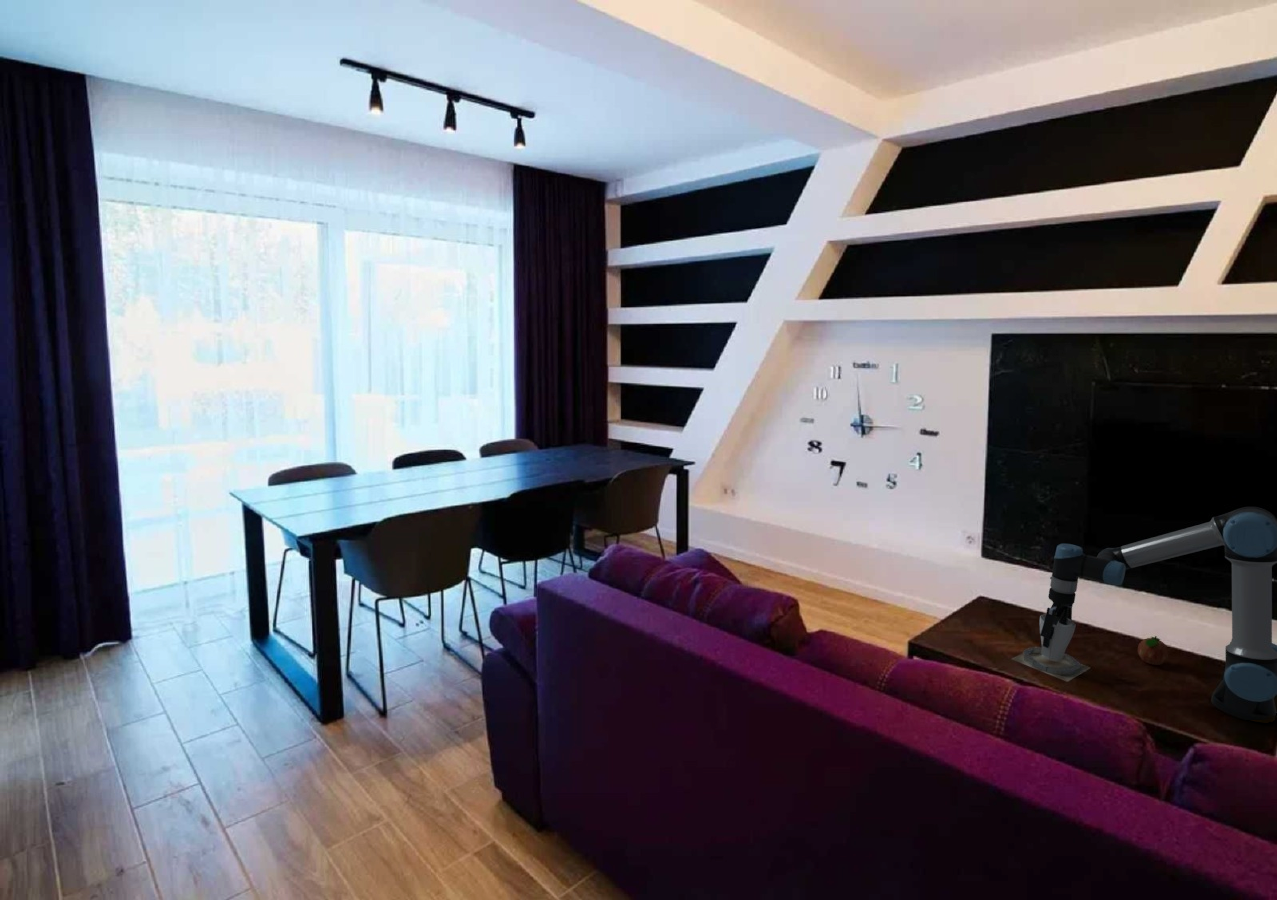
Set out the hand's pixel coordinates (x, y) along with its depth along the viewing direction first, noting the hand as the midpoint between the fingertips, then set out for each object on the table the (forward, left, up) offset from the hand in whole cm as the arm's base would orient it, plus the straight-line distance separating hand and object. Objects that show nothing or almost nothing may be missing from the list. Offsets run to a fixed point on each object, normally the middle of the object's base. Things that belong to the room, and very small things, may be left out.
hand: (1052, 651), depth 235 cm
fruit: (-18, -35, -6) cm, 40 cm away
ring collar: (0, 0, -4) cm, 4 cm away
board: (0, 0, -6) cm, 6 cm away
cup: (0, 0, -2) cm, 2 cm away
